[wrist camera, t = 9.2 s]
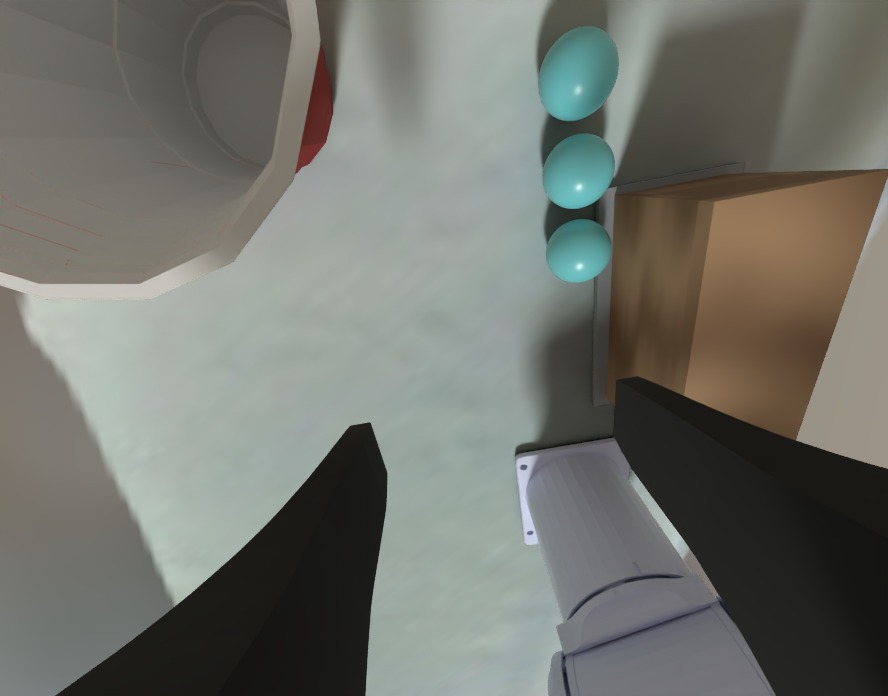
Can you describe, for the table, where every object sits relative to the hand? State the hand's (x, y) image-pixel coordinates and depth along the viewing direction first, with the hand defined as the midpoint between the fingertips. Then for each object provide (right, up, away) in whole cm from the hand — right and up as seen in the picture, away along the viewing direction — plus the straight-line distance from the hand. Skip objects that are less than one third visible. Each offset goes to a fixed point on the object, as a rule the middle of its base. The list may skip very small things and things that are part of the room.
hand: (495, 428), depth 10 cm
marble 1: (+4, +11, +7) cm, 13 cm away
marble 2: (+5, +8, +8) cm, 12 cm away
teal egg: (+4, +14, +5) cm, 15 cm away
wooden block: (+11, +5, +9) cm, 15 cm away
